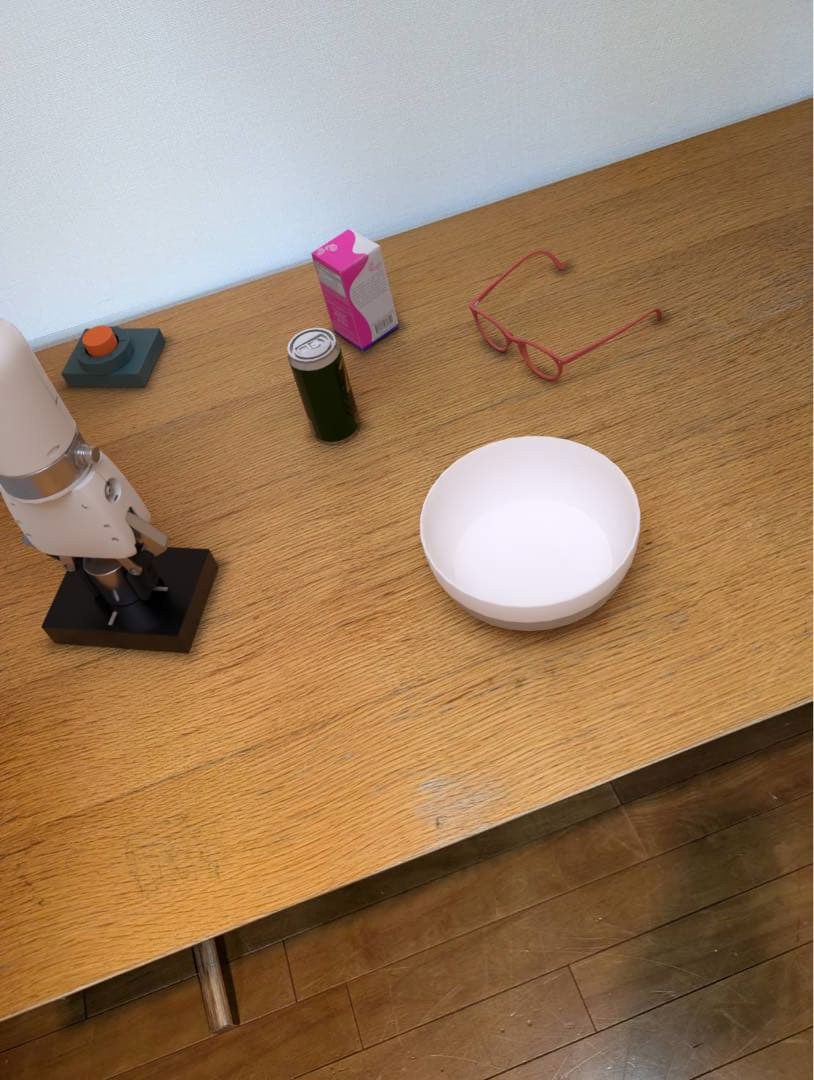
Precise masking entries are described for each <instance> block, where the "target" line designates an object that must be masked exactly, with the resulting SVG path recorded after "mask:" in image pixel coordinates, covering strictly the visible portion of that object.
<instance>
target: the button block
mask: <svg viewBox="0 0 814 1080" xmlns="http://www.w3.org/2000/svg"><path fill="white" fill-rule="evenodd" d="M107 326H108V325H107ZM108 327H110V328H111V329H112V331H113V333H114V335H115V337H116V339H117V342H118V343H117V347H116V348H115V349H114V350H113V351H112V352H111V353H109V354H107V355H104V356H101V357H93V356H91V355H90V354H89V353H88V351H87V349H86V347H85V345H84V344H83V341H82V338H83V335H84V334H85V333H86V332H87V331H88V330H89V329H90V328H85V329H84V330H83V332H82V334H81V336H80V338H79V340H78V341H77V343H76V345H75V347H74V348H73V350H72V352H71V354H70V356H69V358H68V360H67V362H66V364H65V366H64V368H63V369H62V371H61V374H60V375H61V376H62V378H63V379H64V382H65V383H66V385H67V387H69V388H145V387H146V385H147V383H148V381H149V380H150V377H151V374H152V372H153V371H154V368H155V366H156V364H157V361H158V360H159V357H160V355H161V352H162V350H163V349H164V346H165V344H166V342H167V341H166V339H165V337H164V335H163V333H162V330H161V329H160V327H138V328H137V327H135V328H134V327H133V328H132V327H130V328H129V327H128V328H127V327H126V328H125V327H124V328H123V327H122V328H121V327H120V326H117V325H115V326H114V325H113V326H108Z"/></svg>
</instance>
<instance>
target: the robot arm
mask: <svg viewBox="0 0 814 1080" xmlns="http://www.w3.org/2000/svg"><path fill="white" fill-rule="evenodd" d="M0 494H1V496H2V498H3V500H4V503H5V505H6V507H7V509H8V511H9V512H10V514H11V516H12V519H14V521H15V523H16V524H17V526H18V527H19V529H20V530H21V532H22V536H21V539H20V541H21V542H22V543H23V544H24V545H26V546H28V547H32V548H34V549H36V550H38V551H39V552H40V553H43V554H44V555H46V556H48V557H51V558H53V559H55V560H57V561H59V562H60V564H61V565H62V567H63V569H64V570H66V571H67V570H68V571H71V572H73V571H75V575H76V576H77V578H78V579H79V581H80V582H81V583H82V585H83V586H84V588H85V589H86V590H87V592H88V593H89V595H90V596H91V597H98V596H99V595H100V593H101V592H100V591H99V589H98V588H97V586H96V585H95V584H94V582H93V581H92V579H91V578H90V576H89V575H88V574H87V572H86V571H85V569H84V567H83V557H91V558H116V559H117V560H118V561H119V562H120V563H121V564H122V565H123V566H124V567H125V568H126V569H127V570H128V573H127V579H128V580H129V582H130V584H131V585H132V587H133V588H134V590H135V591H136V593H137V594H138V596H139V597H140V598H141V599H142V600H149V598H150V595H151V593H152V590H153V588H155V587H156V585H157V583H158V579H159V575H158V572H157V570H156V569H155V567H154V565H153V564H152V562H151V561H152V559H153V557H155V556H158V555H160V554H161V553H163V552H165V551H166V550H167V547H169V544H170V542H171V537H170V536H169V535H168V534H166V533H165V532H163V531H162V530H160V529H158V528H157V527H155V526H154V525H152V524H150V522H151V520H152V519H151V518H152V517H151V515H150V512H149V510H148V508H147V507H146V505H145V503H144V501H143V500H142V499H141V497H140V496H139V494H138V492H137V491H136V490H135V488H134V486H133V485H132V484H131V483H130V481H129V480H128V479H127V478H126V475H124V474H123V472H121V470H120V469H119V468H118V466H117V465H116V464H115V463H114V462H113V461H112V460H111V459H110V458H109V457H108V456H107V455H106V454H105V453H104V452H103V451H102V450H101V449H99V447H98V446H92V445H90V444H89V443H88V441H87V439H86V438H85V436H84V435H83V433H82V432H81V430H80V428H79V427H78V425H77V423H76V421H75V420H74V418H73V416H72V414H71V413H70V411H69V409H68V408H67V406H66V404H65V403H64V401H63V399H62V398H61V396H60V394H59V393H58V391H57V389H56V388H55V386H54V384H53V383H52V381H51V379H50V377H49V376H48V374H47V373H46V371H45V369H44V367H43V366H42V364H41V362H40V361H39V358H38V357H37V356H36V354H35V352H34V350H33V349H32V347H31V346H30V344H29V343H28V341H27V339H26V337H25V336H24V335H23V333H22V331H20V329H19V328H17V326H16V325H14V324H13V323H12V322H10V321H8V320H6V319H4V318H0Z"/></svg>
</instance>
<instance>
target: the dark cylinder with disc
mask: <svg viewBox="0 0 814 1080" xmlns="http://www.w3.org/2000/svg"><path fill="white" fill-rule="evenodd" d="M83 567H84V569H85V571H86V572H87V574H88V575H89V576H90V578H91V579H92V581H93V582H94V584H95V585H96V586H97V588H98V589H99V591H100V592H101V594H102V595H103V596H104V598H105V599H106V601H107V602H108V603H110V604H112V605H115V606H124V605H128V604H131V603H133V602H135V601H136V600H138V599H139V598H140V597H139V596H138V594H137V593H136V591H135V590H134V588H133V587H132V585H131V584H130V582H129V580H128V579H127V573H128V570H127V569H126V568H125V567H124V566H123V565H122V564H121V563H120V562H119V561H118V560H117V559H116V558H91V557H83Z"/></svg>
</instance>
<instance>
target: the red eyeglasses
mask: <svg viewBox="0 0 814 1080" xmlns="http://www.w3.org/2000/svg"><path fill="white" fill-rule="evenodd" d="M535 255H544V256H547V257H548V258H550V260H551V261H552V262H553V263H554V264H555V266H556V267H557V269H559V270H560V271H562V270H565V268H566V266H565V265H564V264H563V263H562V262H561V261H560V260H559V259H558V258H557V257H556V256H554V254H552V253H551V252H549V251H547V250H544V249H543V250H542V249H540V250H534V251H532V252H529V253H527V254H526V255H525V256H523V257H521V258H520V259H519V260H518V261H517V262H516V263H514V264H513V265H512V266H511V267H509V269H507V270H506V271H504V273H503V274H501V276H499V277H498V278H497V279H495V281H493V282H492V283H491V284H490V285H488V286H487V287H486V288H485V289H484V290H483V291H482V292H481V293H480V294H479V295H478V296H477V297H475V298H474V299H473V300H472V301H471V302H470V303H469V304H468V308H469V310H470V312H471V314H472V316H473V320H474V322H475V324H476V326H477V328H478V330H479V332H480V333H481V335H482V337H483V338H484V339H485V340H486V342H487V343H488V344H489V345H490V347H492V348H493V349H494V350H496V351H498V352H501V353H504V352H507V351H508V350H509V348H510V346H511V344H512V343H514V344H516V345H517V348H518V351H519V353H520V355H521V357H522V359H523V360H524V362H525V363H526V365H527V366H528V367H529V368H530V369H531V371H533V372H534V373H535V374H536V375H537V376H538V377H540V378H542V379H545V380H548V381H556V380H558V379H559V378H560V377H561V375H562V373H563V367H564V366H566V365H568V364H570V363H572V362H573V361H576V360H578V359H579V358H581V357H583V356H585V355H587V354H589V353H591V352H593V351H594V350H596V349H597V348H599V347H600V346H602V345H604V344H606V343H607V342H608V341H610V340H613V339H614V338H615V337H617V336H619V335H621V334H622V333H625V331H627V330H629V329H630V328H632V327H634V326H635V325H636V324H638V323H640V322H641V321H642V320H644V319H645V318H646V317H648V316H649V315H652V314H653V313H656V320H657V321H660V320H661V319H662V317H663V314H662V311H661V309H660V308H657V307H656V308H653V309H651V310H649V311H648V312H646V313H644V314H643V315H641V316H640V317H638V318H637V319H635V320H634V321H632V322H630V323H629V324H627V325H625V326H623V327H621V328H620V329H618V330H616V331H615V332H613V333H611V334H609V335H608V336H606V337H604V338H603V339H600V340H599V341H596V342H594V343H592V344H590V345H588V346H586V347H584V348H582V349H579V350H578V351H576V352H574V353H573V354H570V355H568V356H566V357H564V358H561V356H558V355H556V354H555V353H553V352H552V351H550V350H548V349H547V348H545V347H543V346H542V345H540V344H538V343H535V342H533V341H531V340H530V339H527V338H526V339H525V338H519V337H516V336H514V334H513V333H512V332H510V331H508V330H507V329H506V328H504V327H503V326H502V324H500V323H499V321H497V320H495V319H494V318H493V317H491V316H490V315H488V314H487V313H485V312H484V311H482V310H481V309H479V308H477V306H478V305H479V304H480V303H481V302H482V301H483V300H484V299H485V298H486V297H487V296H488V295H489V294H490V293H491V292H492V291H493V290H494V289H495V288H496V287H497V286H498V285H499V284H500V283H501V282H502V281H503V280H505V278H506V277H507V276H508V275H509V274H511V273H512V272H513V271H515V269H516V268H518V267H519V266H520V265H521V264H522V263H523V262H525V261H526V260H528V259H529V258H531V257H532V256H535ZM478 315H480V316H481V317H483V318H484V319H486V320H487V321H489V322H490V323H491V324H493V325H494V326H495V327H496V328H497V329H498V330H499V331H500V332H501V333H502V335H503V337H504V338H505V342H506V346H505V347H501V346H499V345H497V344H495V343H494V342H493V341H492V340H491V338H490V337H489V336H488V335H487V334H486V332H485V330H484V328H483V326H482V325H481V322H480V320H479V317H478ZM527 345H529V346H531V347H532V348H533V347H534V349H537V350H539V351H540V352H542V353H544V354H546V355H547V356H548V357H550V358H551V360H552V361H554V363H555V365H556V367H557V374H556V375H554V376H550V375H547V374H544V373H543V372H541V371H540V370H539V369H537V368H536V366H534V363H532V361H531V358H530V356H529V351H528V348H527Z"/></svg>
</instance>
